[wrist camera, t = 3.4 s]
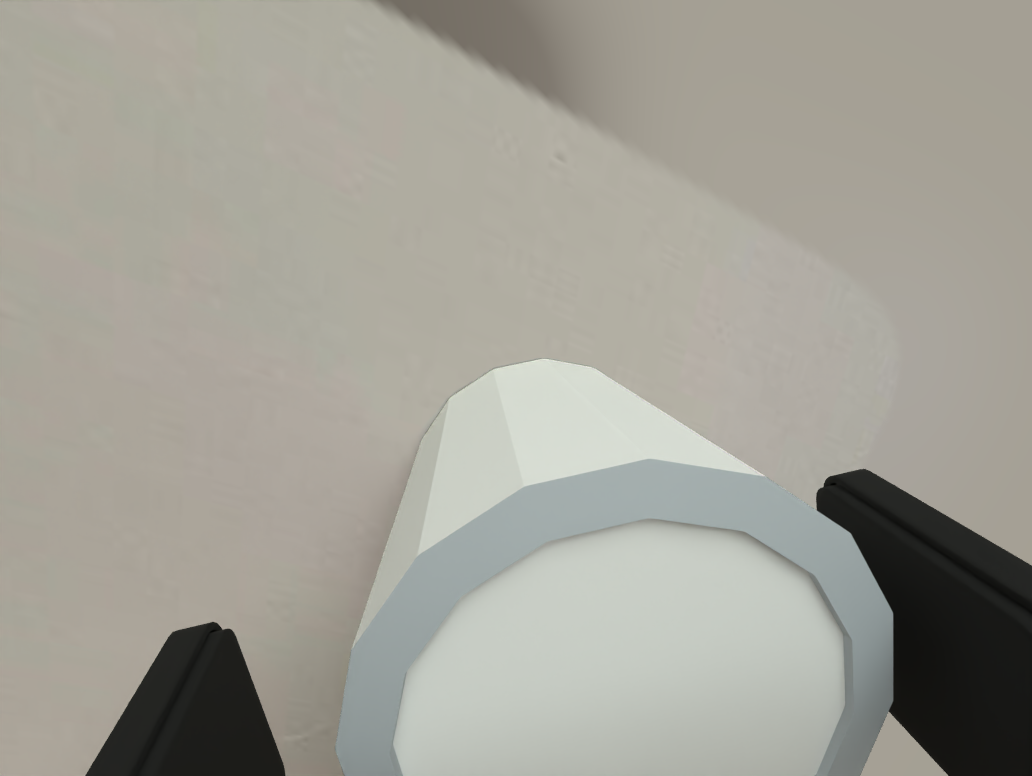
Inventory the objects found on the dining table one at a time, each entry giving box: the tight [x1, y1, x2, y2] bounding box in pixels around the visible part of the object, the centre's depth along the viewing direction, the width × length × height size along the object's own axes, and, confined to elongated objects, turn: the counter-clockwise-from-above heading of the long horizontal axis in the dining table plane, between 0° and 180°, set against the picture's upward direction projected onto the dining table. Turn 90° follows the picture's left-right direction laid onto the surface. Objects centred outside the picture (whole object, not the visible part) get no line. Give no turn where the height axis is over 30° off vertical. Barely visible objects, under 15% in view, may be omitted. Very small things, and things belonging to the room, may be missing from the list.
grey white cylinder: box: [335, 358, 893, 776], centre depth 11 cm, size 7×7×7 cm
